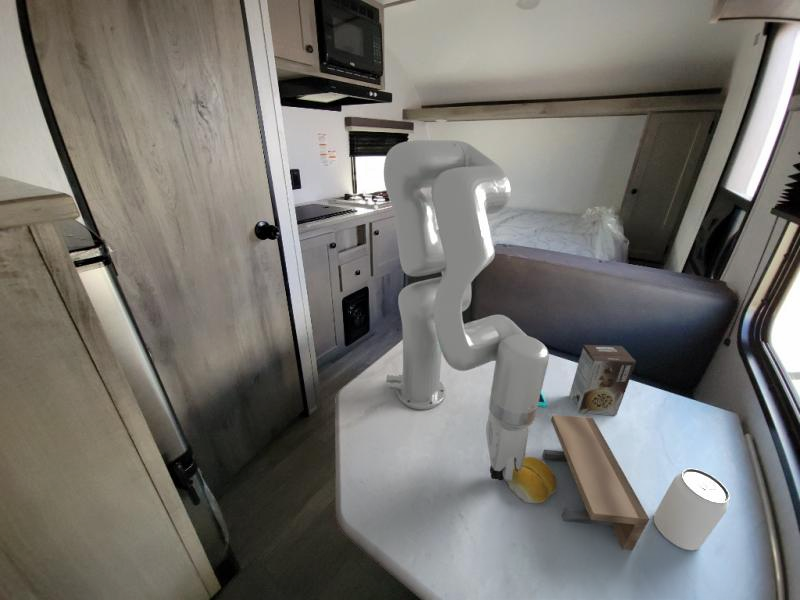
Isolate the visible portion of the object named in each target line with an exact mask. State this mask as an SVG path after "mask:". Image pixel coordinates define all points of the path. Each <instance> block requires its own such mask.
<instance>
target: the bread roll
mask: <svg viewBox="0 0 800 600" xmlns="http://www.w3.org/2000/svg"><path fill="white" fill-rule="evenodd" d="M506 482H507V484H508V487H509V489H511V490H512V491H513V493H514V494H515V495H516V496H517V497H519V498H520V499H521V500H523V501H524V502H526V503H529V504H541V503H544V502H546V501H548V499H549V497H550V496H551V495H552V494H553V493H555V492H556V490H557V479H556V476H555V473H554V472H553V471H552V469H551V468H550V466H549V465H547V464H546V463H545V462H544V460H541V459H539V458H537V457H532V456H525V457H524V462H523V465H522V468H521V470H520V472H518V473H517V471H516V470H515V466H514V467H513V476H512V481H509V480H506Z"/></svg>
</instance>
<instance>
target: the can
mask: <svg viewBox="0 0 800 600" xmlns="http://www.w3.org/2000/svg"><path fill="white" fill-rule="evenodd" d="M730 498H731V497H730V493H729V491H728V489H727V488H726V486H725V485H724V484H723V483H722V482H721V481H720V480H719V479H718V478H716V477H715V476H713V475H711V474H709V473H708V472H705V471H703V470H700V469H697V468H693V467H691V468H690V467H689V468H685V469H683V470H682V472H679V473H678V474H676V475H675V476H674V478H673V480H672V482H671V483H670V485H669V486H668V488H667V490H666V492H665V494H664V496H663V497H662V499H661V501H660V503H659V504H658V507H657V508H656V510H655V512H654V515H653V521H654V524H655V526H656V528H657V530H658V531H659V532H660V534H661V535H662V536H663V537H664V538H666V540H668V542H670V543H671V544H673V545H674V546H676V547H678V548H680V549H682V550H683V549H684V550H687V551H697V550H699V549H700V548H701V547H702V546H703V544H704V543H705V542H706V540H707V539H709V537H710V535H711V534H712V533H713V531H714V530H715V528H716V527H717V525H718V524H719V523H720V522H721V520H722V518H723V517H724V516H725V514H726V513H727V511H728V509H729V506H730V505H729V503H730V502H729V500H730Z"/></svg>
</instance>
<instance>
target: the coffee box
mask: <svg viewBox="0 0 800 600" xmlns="http://www.w3.org/2000/svg"><path fill="white" fill-rule="evenodd" d="M636 363H637V361H636V360H635V359H634V358H633V357H632V355H631V354H630V353H629V352H628V351H627V350H626V349H625V347H623V346H622V345H602V344H601V345H598V344H596V345H595V344H583V346H582V350H581V353H580V356H579V360H578V364H577V367H576V371H575V373H574V374H575V375H574V378H573V380H572V385H571V388H570V391H569V399H570V400H571V402H572V404H573V407H574V408H575V410H576V412H577V413H579V414H589V415H590V414H591V415H606V416H608V415H609V416H617V415H618V412H619V409H620V406H621V404H622V401H623V398H624V396H625V392H626V390H627V387H628V385H629V382H630V381H631V377H632V374H633V371H634V369H635V365H636Z"/></svg>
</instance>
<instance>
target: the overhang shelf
mask: <svg viewBox="0 0 800 600" xmlns="http://www.w3.org/2000/svg"><path fill="white" fill-rule="evenodd" d="M550 421H551V424H552V427H553V429H554V431H555V434H556V436H557V439H558V442H559V443H560V446H561V449H562V450H554V449H543V452H542V455H541V457H542V461H547V462H556V463H557V462H558V463H567V464H568V466H569V469H570V472H571V474H572V477H573V479H574V481H575V484H576V486H577V489H578V491H579V495H580V496H581V499H582V501H583V503H584V506H585V508H586V509H578V508H577V509H576V508H566V507H564V508H563V510H562V513H561V517H562V521H563V522H571V523H578V524H579V523H580V524H589V525H597V526H606V527H611V528H612V529H613V532H614V534H615V536H616V538H617V540H618V543H619V545H620V548H621V550H626V551H627V550H628V551H633V550H634V548H635V546H636V544H637V542H638V541H639V540H640V537H641V536H642V533H643V532H644V530H645V528H646V527H647V525H648V523H649V522H650V517H649V515H648V514H647V512H646V510H645V508H644V507H643V505H642V503H641V501H640V499H639V498H638V496H637V494H636V491H634V489H633V487H632V486H631V484H630V482H629V480H628V478H627V476H626V475H625V473H624V471H623V469H622V468H621V467H622V466H621V465H620V464H619V462H618V460H617V459H616V458H617V457H616V456H615V455H614V453H613V451H612V450H611V447H610V446H609V444H608V442H607V440H606V439H605V437H604V435H603V433H602V432H601V429H600V427H599V426H598V425H597V423H596V421H595V418H594V417H587V416H585V417H584V416H576V415H575V416H574V415H561V414H552V416H551V418H550Z"/></svg>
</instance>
